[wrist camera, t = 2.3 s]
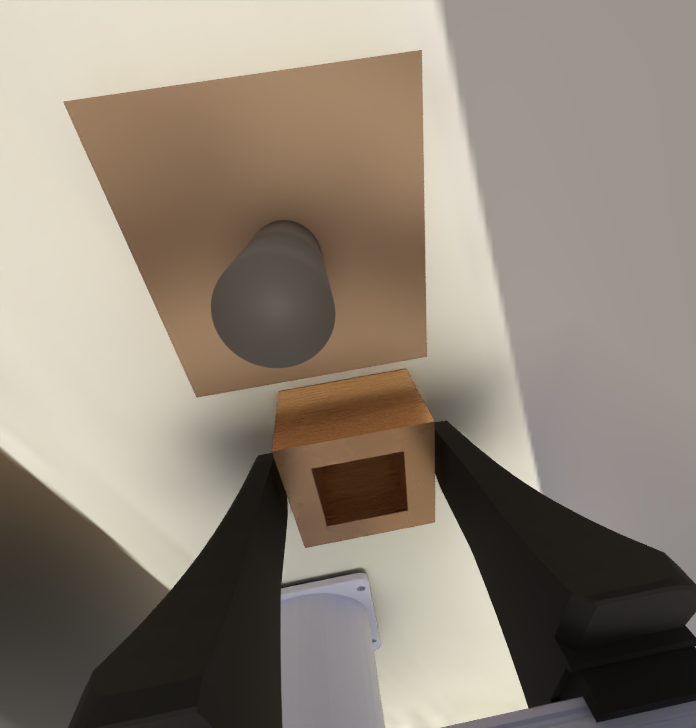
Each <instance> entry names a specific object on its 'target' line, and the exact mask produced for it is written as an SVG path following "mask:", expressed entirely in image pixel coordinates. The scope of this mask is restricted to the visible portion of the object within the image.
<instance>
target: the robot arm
mask: <svg viewBox="0 0 696 728" xmlns="http://www.w3.org/2000/svg"><path fill="white" fill-rule="evenodd" d="M435 474H436V477H437V480H438V482H439V485H440V488H441V490H442V492H443V494H444V496H445V498H446V500H447V502H448V504H449V506H450V508H451V510H452V512H453V514H454V516H455V518H456V520H457V522H458V524H459V526H460V528H461V530H462V532H463V534H464V536H465V538H466V540H467V542H468V544H469V546H470V548H471V551H472V553H473V555H474V558H475V560H476V563H477V565H478V568H479V570H480V573H481V575H482V578H483V580H484V583H485V586H486V588H487V591H488V594H489V596H490V599H491V602H492V604H493V607H494V610H495V612H496V615H497V618H498V621H499V623H500V626H501V629H502V632H503V634H504V637H505V640H506V643H507V646H508V648H509V651H510V654H511V657H512V660H513V663H514V666H515V669H516V672H517V675H518V678H519V681H520V683H521V686H522V689H523V692H524V695H525V699H526V702H527V705H528V708H529V709H524V710H519V711H515V712H510V713H506V714H501V715H497V716H492V717H488V718H483V719H478V720H474V721H469V722H465V723H460V724H456V725H451V726H447V727H442V728H696V648H695V647H694V646H696V637H695V636H694V635H693V634H692V633H691V632H690V630H689V629H688V628H687V627H686V626H685V625H686V623H687V622H688V621H689V620H690V618H691V617H692V616H693V615H694V614H695V612H696V584H695V583H694V582H693V581H692V580H691V579H690V578H689V577H688V576H687V575H686V573H684V571H683V570H682V569H681V568H680V567H679V566H678V565H677V564H676V563H675V562H674V561H672V559H670V558H669V557H668V556H667V555H666V554H665V553H664V552H661V551H659V550H657V549H654V548H651V547H649V546H647V545H645V544H642V543H640V542H637V541H635V540H632V539H630V538H627V537H625V536H623V535H621V534H618V533H616V532H614V531H612V530H610V529H607V528H606V527H603V526H601V525H599V524H597V523H595V522H593V521H591V520H589V519H587V518H585V517H583V516H581V515H579V514H577V513H575V512H573V511H572V510H570V509H568V508H566V507H564V506H562V505H560V504H559V503H557V502H555V501H553V500H551V499H550V498H548V497H546V496H545V495H543V494H541V493H540V492H538V491H537V490H535V489H533V488H532V487H530V486H529V485H527V484H526V483H524V482H523V481H521V480H520V479H518V478H517V477H515V476H514V475H512V474H511V473H510V472H508V471H507V470H506V469H504V468H503V467H501V466H500V465H499V464H498V463H496V462H495V461H494V460H492V459H491V458H490V457H489V456H487V455H486V454H485V453H484V452H482V451H481V450H480V449H479V448H477V447H476V446H475V445H474V444H473V443H472V442H470V441H469V440H468V439H467V438H466V437H465V436H463V435H462V434H461V433H460V432H459V431H458V430H457V429H456V428H455V427H453V426H452V425H451V424H450V423H449V422H448V421H441V422H436V423H435ZM287 518H288V503H287V494H286V491H285V488H284V485H283V482H282V480H281V477H280V474H279V471H278V468H277V465H276V462H275V459H274V456H273V453H269V454H264V455H259V456H258V457H257V458H256V460H255V462H254V464H253V466H252V468H251V470H250V472H249V474H248V476H247V478H246V480H245V482H244V484H243V486H242V487H241V489H240V491H239V493H238V495H237V496H236V498H235V500H234V502H233V503H232V505H231V507H230V509H229V510H228V512H227V514H226V515H225V517H224V518H223V520H222V522H221V523H220V525H219V526H218V528H217V530H216V531H215V533H214V534H213V536H212V537H211V539H210V540H209V541H208V543H207V544H206V546H205V547H204V549H203V550H202V551H201V553H200V554H199V555H198V557H197V558H196V559H195V561H194V562H193V563H192V565H191V566H190V567H189V568H188V570H187V571H186V572H185V574H184V575H183V576H182V577H181V579H180V580H179V581H178V582H177V584H176V585H175V586H174V587H173V588H172V590H171V591H170V592H169V593H168V594H167V595H166V596H165V598H164V599H163V600H162V601H161V602H160V603H159V604H158V605H157V607H156V608H155V609H154V610H153V611H152V612H151V613H150V614H149V615H148V617H147V618H146V619H145V620H144V621H143V622H142V623H141V624H140V625H139V626H138V627H137V628H136V629H135V630H134V632H132V634H131V635H130V636H129V637H128V638H126V639H125V640H124V641H123V642H122V644H120V645H119V646H118V647H117V648H116V649H115V650H114V651H113V652H112V653H111V654H110V655H109V656H108V657H107V658H106V659H105V660H104V661H103V662H102V663H101V664H100V665H99V666H98V667H97V668H96V669H95V670H94V671H93V673H92V675H91V677H90V679H89V681H88V683H87V685H86V687H85V689H84V691H83V694H82V696H81V698H80V701H79V703H78V706H77V708H76V710H75V712H74V715H73V718H72V720H71V722H70V724H69V727H68V728H385V723H384V717H383V710H382V703H381V697H380V690H379V683H378V676H377V670H376V663H375V656H374V650H376V649H379V648H380V646H381V643H380V637H379V632H378V627H377V622H376V617H375V612H374V606H373V601H372V596H371V591H370V586H369V581H368V576H367V575H366V574H365V573H355V574H350V575H345V576H340V577H335V578H330V579H325V580H320V581H315V582H310V583H305V584H300V585H295V586H290V587H285V588H281V582H282V571H283V560H284V550H285V540H286V529H287Z"/></svg>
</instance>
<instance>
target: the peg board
mask: <svg viewBox="0 0 696 728" xmlns="http://www.w3.org/2000/svg"><path fill="white" fill-rule="evenodd" d="M64 105H65V107H66V109H67V111H68V114H69V116H70V118H71V120H72V122H73V125H74V127H75V129H76V131H77V133H78V136H79V138H80V140H81V142H82V145H83V147H84V149H85V151H86V153H87V156H88V158H89V160H90V162H91V164H92V167H93V169H94V171H95V173H96V176H97V178H98V180H99V182H100V184H101V187H102V189H103V191H104V193H105V195H106V198H107V200H108V202H109V204H110V207H111V209H112V211H113V213H114V215H115V218H116V220H117V222H118V224H119V226H120V229H121V231H122V233H123V235H124V238H125V240H126V242H127V244H128V246H129V249H130V251H131V253H132V255H133V258H134V260H135V262H136V264H137V266H138V269H139V271H140V273H141V275H142V277H143V280H144V282H145V284H146V286H147V289H148V291H149V293H150V295H151V297H152V300H153V302H154V304H155V306H156V308H157V311H158V313H159V315H160V317H161V320H162V322H163V324H164V326H165V328H166V331H167V333H168V335H169V337H170V339H171V342H172V344H173V346H174V348H175V351H176V353H177V355H178V357H179V359H180V362H181V364H182V366H183V368H184V370H185V373H186V375H187V377H188V379H189V382H190V384H191V386H192V388H193V390H194V393H195V395H196V397H202V396H208V395H213V394H219V393H225V392H230V391H236V390H241V389H247V388H253V387H258V386H264V385H269V384H275V383H281V382H286V381H292V380H298V379H303V378H309V377H314V376H320V375H326V374H331V373H337V372H342V371H348V370H354V369H359V368H365V367H371V366H376V365H382V364H387V363H393V362H399V361H404V360H410V359H415V358H421V357H427V343H426V282H425V220H424V159H423V98H422V50H419V51H412V52H405V53H398V54H391V55H384V56H377V57H370V58H363V59H356V60H349V61H342V62H335V63H328V64H322V65H315V66H308V67H301V68H294V69H287V70H280V71H273V72H266V73H259V74H252V75H245V76H238V77H231V78H224V79H217V80H210V81H203V82H196V83H190V84H183V85H176V86H169V87H162V88H155V89H148V90H141V91H134V92H127V93H120V94H113V95H106V96H99V97H92V98H85V99H78V100H71V101H64Z"/></svg>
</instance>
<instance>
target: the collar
mask: <svg viewBox="0 0 696 728" xmlns="http://www.w3.org/2000/svg"><path fill="white" fill-rule="evenodd" d="M272 453H273V456H274V459H275V462H276V465H277V468H278V471H279V474H280V477H281V480H282V482H283V485H284V488H285V491H286V494H287V497H288V500H289V503H290V506H291V509H292V511H293V514H294V517H295V520H296V523H297V526H298V529H299V532H300V535H301V538H302V540H303V543H304V546H305V548H307V547H312V546H317V545H322V544H327V543H332V542H338V541H343V540H348V539H353V538H358V537H363V536H368V535H373V534H378V533H383V532H388V531H393V530H398V529H404V528H409V527H414V526H419V525H424V524H429V523H434V522H435V421H434V419H433V418H432V416H431V414H430V412H429V410H428V408H427V406H426V405H425V403H424V401H423V399H422V397H421V395H420V394H419V392H418V390H417V388H416V386H415V384H414V382H413V381H412V379H411V377H410V375H409V373H408V371H407V370H406V369H403V370H397V371H392V372H386V373H381V374H375V375H369V376H364V377H358V378H353V379H347V380H342V381H336V382H330V383H325V384H319V385H314V386H308V387H303V388H297V389H291V390H286V391H280V392H279V394H278V402H277V411H276V420H275V428H274V437H273V446H272Z"/></svg>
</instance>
